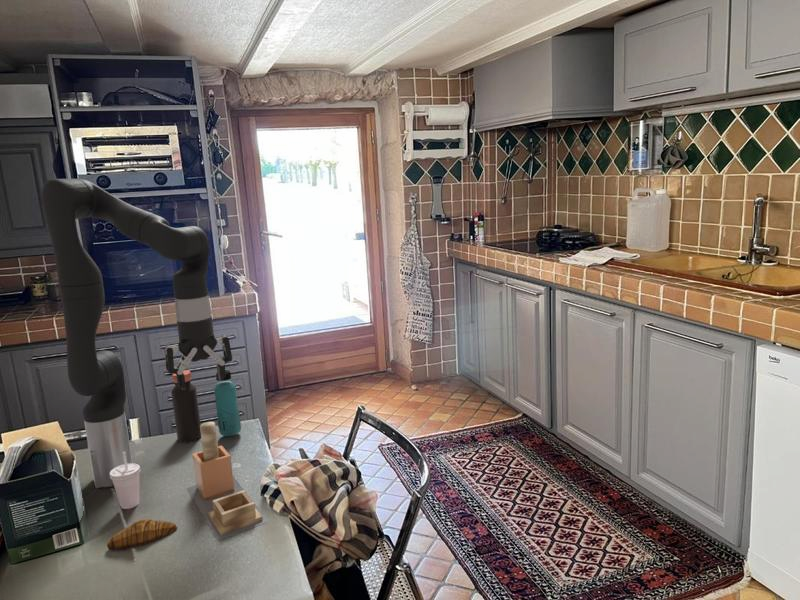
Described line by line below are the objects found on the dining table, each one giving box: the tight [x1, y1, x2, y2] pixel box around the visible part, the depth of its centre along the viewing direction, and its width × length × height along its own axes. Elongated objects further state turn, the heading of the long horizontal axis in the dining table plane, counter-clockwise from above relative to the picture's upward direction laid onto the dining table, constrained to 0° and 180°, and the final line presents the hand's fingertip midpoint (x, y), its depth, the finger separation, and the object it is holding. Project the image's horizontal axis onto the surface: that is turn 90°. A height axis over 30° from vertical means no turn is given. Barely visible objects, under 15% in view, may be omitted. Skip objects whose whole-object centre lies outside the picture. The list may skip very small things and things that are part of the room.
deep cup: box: [191, 444, 234, 500], centre depth 137 cm, size 7×7×9 cm
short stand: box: [208, 489, 262, 535], centre depth 126 cm, size 9×9×4 cm
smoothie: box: [110, 452, 141, 510], centre depth 133 cm, size 6×6×14 cm
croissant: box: [106, 518, 178, 551], centre depth 120 cm, size 14×7×5 cm, turn 113°
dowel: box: [200, 421, 219, 462], centre depth 137 cm, size 3×3×16 cm
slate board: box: [186, 475, 270, 542], centre depth 132 cm, size 11×26×1 cm, turn 33°
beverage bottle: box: [213, 369, 242, 437], centre depth 168 cm, size 6×7×20 cm
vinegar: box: [170, 370, 202, 443], centre depth 169 cm, size 7×7×20 cm
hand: (202, 384), depth 133 cm, fingers open, 8 cm apart
